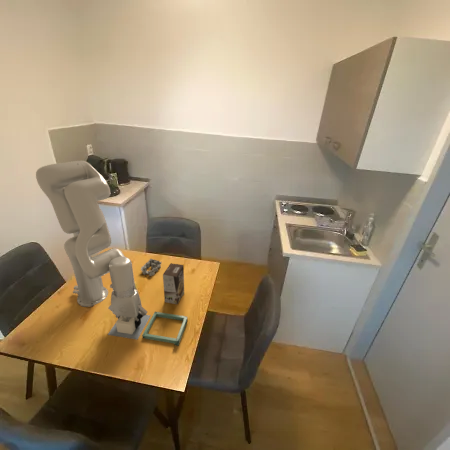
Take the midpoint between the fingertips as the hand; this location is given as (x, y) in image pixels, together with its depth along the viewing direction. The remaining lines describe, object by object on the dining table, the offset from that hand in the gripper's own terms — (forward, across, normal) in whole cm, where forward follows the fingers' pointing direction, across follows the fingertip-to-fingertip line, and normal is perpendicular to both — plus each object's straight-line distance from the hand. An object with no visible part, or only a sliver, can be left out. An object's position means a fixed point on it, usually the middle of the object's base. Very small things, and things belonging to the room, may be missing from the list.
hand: (130, 323), depth 99 cm
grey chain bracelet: (+2, -7, +37) cm, 38 cm away
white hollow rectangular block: (0, 0, 0) cm, 0 cm away
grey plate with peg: (+1, 0, 0) cm, 1 cm away
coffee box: (+2, +12, +19) cm, 23 cm away
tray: (+1, +14, +1) cm, 15 cm away
